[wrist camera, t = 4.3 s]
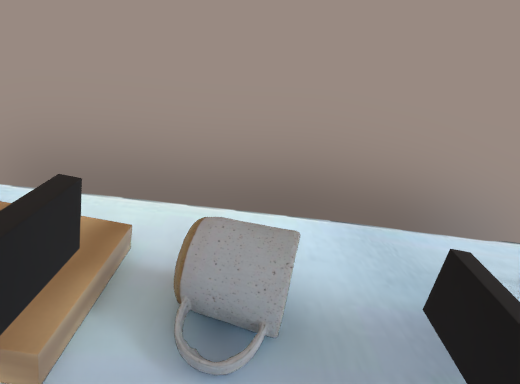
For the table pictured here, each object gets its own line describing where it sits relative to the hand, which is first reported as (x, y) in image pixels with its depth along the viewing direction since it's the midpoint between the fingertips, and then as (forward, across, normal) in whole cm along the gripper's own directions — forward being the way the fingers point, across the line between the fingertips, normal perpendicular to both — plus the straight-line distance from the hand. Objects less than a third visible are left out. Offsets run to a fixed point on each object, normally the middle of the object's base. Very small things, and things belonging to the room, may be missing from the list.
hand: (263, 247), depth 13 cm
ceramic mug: (+11, 0, -13) cm, 17 cm away
